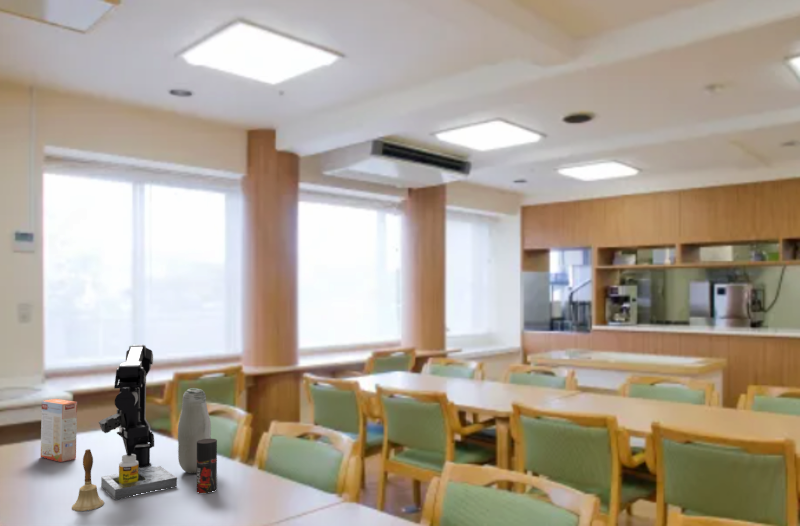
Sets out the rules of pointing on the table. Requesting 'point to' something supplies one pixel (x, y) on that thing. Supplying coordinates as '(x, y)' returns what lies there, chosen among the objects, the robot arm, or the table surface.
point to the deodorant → (206, 465)
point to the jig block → (139, 482)
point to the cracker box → (58, 430)
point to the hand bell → (88, 488)
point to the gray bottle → (192, 428)
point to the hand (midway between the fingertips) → (129, 455)
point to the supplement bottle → (128, 469)
